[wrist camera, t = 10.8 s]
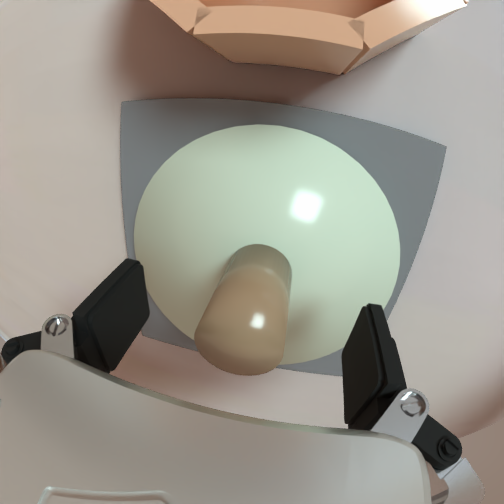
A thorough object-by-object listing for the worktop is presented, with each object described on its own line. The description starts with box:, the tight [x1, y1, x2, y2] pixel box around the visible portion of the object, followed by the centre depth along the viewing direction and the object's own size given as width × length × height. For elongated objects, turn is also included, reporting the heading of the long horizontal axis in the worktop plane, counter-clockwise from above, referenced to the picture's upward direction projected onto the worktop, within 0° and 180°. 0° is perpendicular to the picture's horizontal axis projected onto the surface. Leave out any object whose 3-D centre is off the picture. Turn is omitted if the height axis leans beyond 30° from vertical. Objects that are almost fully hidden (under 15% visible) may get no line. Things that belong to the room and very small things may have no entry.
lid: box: [134, 124, 400, 376], centre depth 12 cm, size 14×14×6 cm
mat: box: [120, 98, 446, 376], centre depth 14 cm, size 16×16×1 cm
